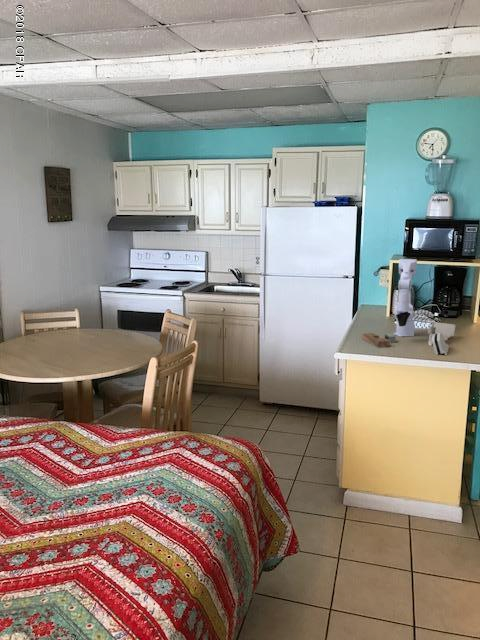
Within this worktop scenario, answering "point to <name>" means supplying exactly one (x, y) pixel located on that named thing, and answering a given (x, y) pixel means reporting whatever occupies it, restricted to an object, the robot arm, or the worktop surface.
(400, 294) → the robot arm
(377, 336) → the brown u-shaped block
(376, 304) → the worktop surface
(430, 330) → the shelf bracket
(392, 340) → the sage green cube
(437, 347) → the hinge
